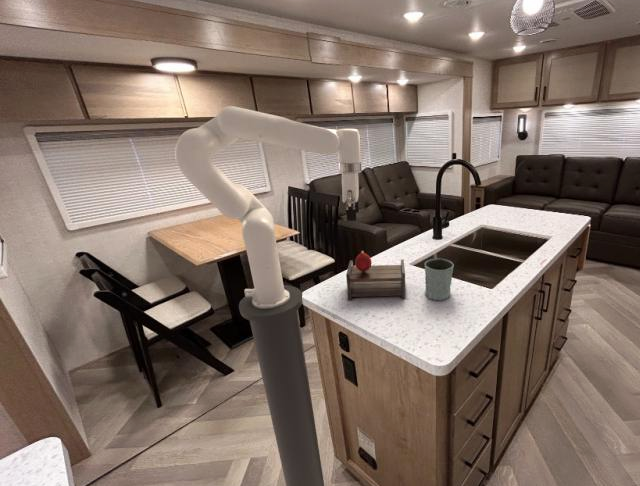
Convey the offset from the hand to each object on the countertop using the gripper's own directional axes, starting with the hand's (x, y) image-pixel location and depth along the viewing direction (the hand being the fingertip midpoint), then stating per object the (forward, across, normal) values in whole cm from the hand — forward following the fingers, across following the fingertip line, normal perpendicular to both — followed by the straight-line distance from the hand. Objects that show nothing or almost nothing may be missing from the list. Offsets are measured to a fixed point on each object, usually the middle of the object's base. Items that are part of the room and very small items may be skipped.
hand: (353, 216), depth 115 cm
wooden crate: (+26, +8, +8) cm, 29 cm away
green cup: (+26, +11, +30) cm, 42 cm away
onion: (+18, +8, +4) cm, 20 cm away
